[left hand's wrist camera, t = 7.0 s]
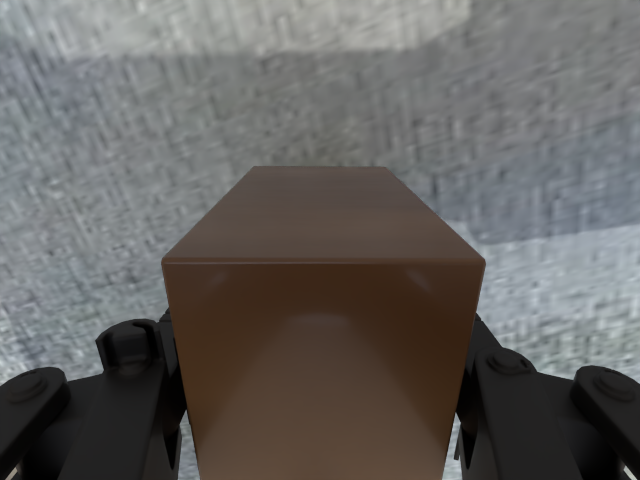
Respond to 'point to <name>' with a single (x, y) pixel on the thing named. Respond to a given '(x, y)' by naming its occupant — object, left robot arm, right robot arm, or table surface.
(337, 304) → the beam
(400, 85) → the table surface
